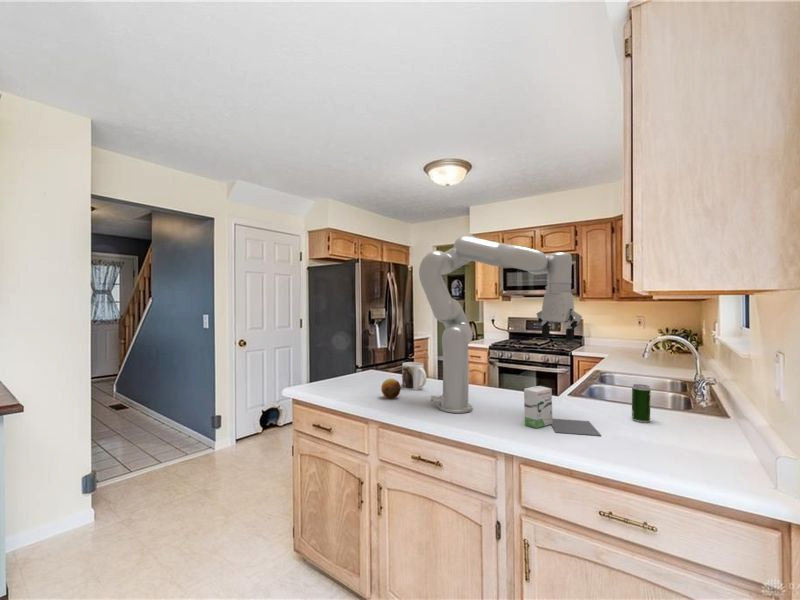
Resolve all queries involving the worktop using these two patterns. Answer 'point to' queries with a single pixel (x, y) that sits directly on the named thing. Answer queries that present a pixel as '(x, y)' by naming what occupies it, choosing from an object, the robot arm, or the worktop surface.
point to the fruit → (391, 388)
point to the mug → (413, 376)
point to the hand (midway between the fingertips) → (557, 338)
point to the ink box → (538, 406)
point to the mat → (574, 427)
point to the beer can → (641, 403)
